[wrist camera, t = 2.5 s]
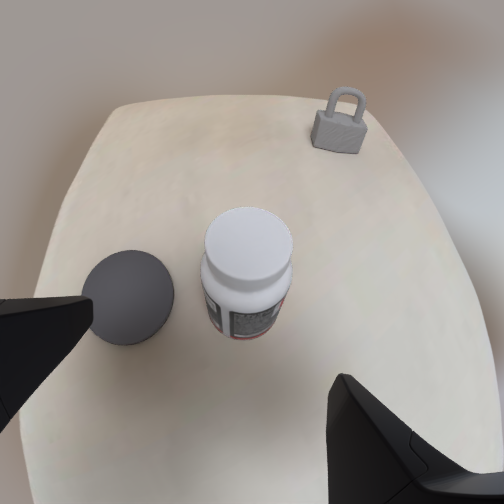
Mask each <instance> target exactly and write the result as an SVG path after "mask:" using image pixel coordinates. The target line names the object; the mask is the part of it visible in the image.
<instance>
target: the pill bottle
mask: <svg viewBox="0 0 504 504" xmlns="http://www.w3.org/2000/svg"><path fill="white" fill-rule="evenodd" d="M204 244H205V253H204V255H203V258H202V261H201V268H200V272H201V281H202V286H203V290H204V294H205V299H206V303H207V308H208V312H209V316H210V319H211V321H212V323H213V324H214V326H215V327H216V328H217V329H218V330H219V331H220V332H221V333H222V334H224V335H226V336H228V337H230V338H233V339H237V340H250V339H254V338H257V337H259V336H261V335H263V334H264V333H266V332H267V331H268V330H269V329H270V328H271V327H272V325H273V324H274V322H275V320H276V318H277V315H278V313H279V311H280V308H281V306H282V304H283V301H284V299H285V297H286V294H287V292H288V290H289V287H290V284H291V280H292V272H293V270H292V263H291V255H292V251H293V240H292V235H291V233H290V231H289V229H288V227H287V226H286V224H285V223H284V222H283V221H282V220H281V219H280V218H279V217H277V216H276V215H274V214H273V213H271V212H269V211H267V210H264V209H260V208H256V207H238V208H234V209H230V210H228V211H225V212H224V213H222V214H220V215H219V216H218V217H216V218H215V219H214V220H213V221H212V223H211V224H210V225H209V227H208V229H207V231H206V235H205V241H204Z"/></svg>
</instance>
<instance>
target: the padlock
mask: <svg viewBox="0 0 504 504" xmlns="http://www.w3.org/2000/svg"><path fill="white" fill-rule="evenodd" d="M344 94H348V95H353V96H355V97H357V98H358V106H357V109H356V112H355V115H354V116H351V115H348V114H344V113H340V112H335V111H334V110H335V107H336V103H337V100H338V98H339V97H340V96H341V95H344ZM365 107H366V98H365V96H364V94H363V93H362V92H361V91H359V90H357V89H355V88H352V87H339V88H336V89H335V90H334V91H333V92H332V93H331V95H330V98H329V100H328V104H327V108H326V111H323V110H317V113H316V117H315V121H314V126H313V129H312V134H311V139H312V142H313V146H314V147H318V148H322V149H326V150H330V151H335V152H342V153H355V154H358V152H359V150H360V148H361V145H362V143H363V140H364V137H365V134H366V132H367V130H368V129H367V126H366V124H365V123H364V121H363V119H362V116H363V113H364V110H365Z"/></svg>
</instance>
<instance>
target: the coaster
mask: <svg viewBox="0 0 504 504" xmlns="http://www.w3.org/2000/svg"><path fill="white" fill-rule="evenodd" d="M82 295H83V296H86V297H88V298H91V299H92V301H93V314H94V319H93V323H92V325H91V326H90V327H89V328H90V329H91V330H92V331H93V332H94V333H95V334H96V335H97V336H99V337H100V338H101V339H103V340H105V341H107V342H109V343H112V344H117V345H132V344H136V343H139V342H142V341H144V340H146V339H148V338H149V337H151V336H152V335H154V334H155V333H156V332H157V331H158V330H159V329H160V328H161V327H162V326H163V324H164V323H165V321H166V320H167V318H168V316H169V314H170V311H171V308H172V305H173V298H174V290H173V284H172V280H171V278H170V275H169V273H168V271H167V269H166V268H165V266H164V265H163V264H162V262H161V261H159V260H158V259H157V258H156V257H154V256H153V255H151V254H149V253H146V252H143V251H137V250H127V251H121V252H118V253H115V254H112V255H110V256H108V257H107V258H105V259H104V260H102V261H101V262H100V263H99V264H97V265H96V266H95V268H94V269H93V270H92V271H91V273H90V274H89V275H88V277H87V279H86V281H85V284H84V286H83V290H82ZM82 295H81V296H82Z"/></svg>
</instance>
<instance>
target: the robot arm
mask: <svg viewBox="0 0 504 504" xmlns="http://www.w3.org/2000/svg"><path fill="white" fill-rule="evenodd" d="M93 319H94V314H93V301H92V299H91V298H88V297H86V296H83V295H82V296H66V297H47V298H25V299H7V300H6V299H0V433H1V432H2V431H3V429H4V428H5V427H6V425H7V424H8V423H9V421H10V419H12V418H13V416H14V415H15V414H16V413H17V412H18V410H19V409H20V408H21V407H22V406H23V404H24V403H25V402H26V401H27V400H28V398H29V397H30V396H31V395H32V394H33V393H34V391H35V390H36V389H37V388H38V387H39V386H40V385H41V383H42V382H43V381H44V380H45V379H46V378H47V377H48V376H49V375H50V373H51V372H52V371H53V370H54V369H55V368H56V367H57V366H58V365H59V364H60V363H61V361H62V360H63V359H64V358H65V357H66V356H67V355H68V354H69V353H70V352H71V351H72V349H73V348H74V347H75V346H76V344H77V343H78V342H79V340H80V339H81V338H82V336H83V335H84V334H85V333H86V331H87V330H88V329H89V327H90V326H91V325H92V323H93ZM326 444H327V463H328V497H329V504H504V472H496V473H486V474H479V473H473V472H470V471H468V470H466V469H464V468H463V467H461V466H460V465H458V464H457V463H455V462H454V461H452V460H451V459H449V458H448V457H446V456H445V455H444V454H442V453H441V452H439V451H438V450H437V449H435V448H434V447H432V446H431V445H430V444H429V443H427V442H426V441H425V440H424V439H422V438H421V437H420V436H419V435H418V434H417V433H415V432H414V431H412V429H411V428H410V427H408V426H407V425H406V424H405V423H404V422H403V421H402V420H400V419H399V418H398V417H397V416H396V415H395V414H394V413H393V412H391V411H390V410H389V409H388V408H387V407H386V406H385V405H384V404H382V403H381V402H380V401H379V400H378V399H377V398H376V397H375V396H373V395H372V394H371V393H370V392H369V391H368V390H367V389H366V388H365V387H363V386H362V385H361V384H360V383H359V382H358V381H357V380H356V379H355V378H354V377H352V376H351V375H349V374H343V373H340V374H338V376H337V377H336V379H335V381H334V383H333V385H332V387H331V389H330V391H329V394H328V406H327V424H326Z"/></svg>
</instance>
